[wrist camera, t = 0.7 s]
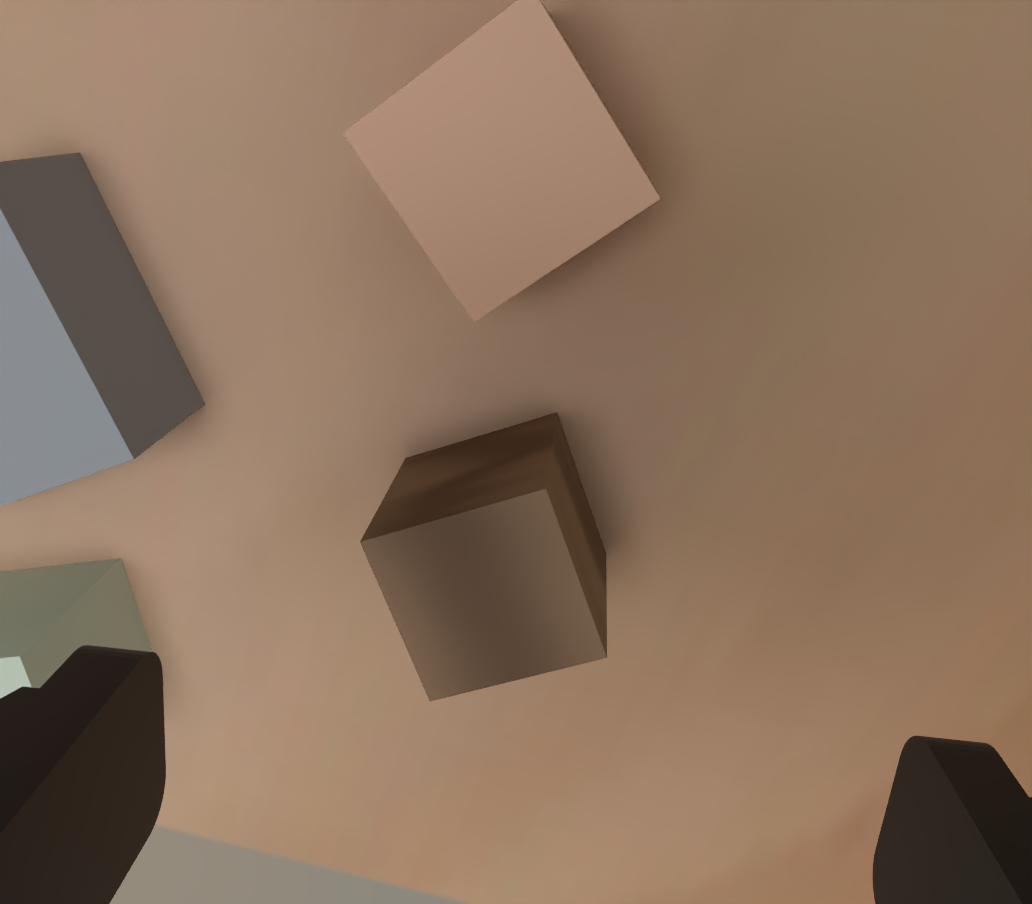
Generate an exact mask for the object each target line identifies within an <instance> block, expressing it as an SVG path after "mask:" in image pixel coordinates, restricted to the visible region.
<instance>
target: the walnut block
mask: <svg viewBox="0 0 1032 904" xmlns="http://www.w3.org/2000/svg"><path fill="white" fill-rule="evenodd" d="M360 543H361V545H362V547H363V550H364V552H365V554H366V556H367V559H368V561H369V563H370V566H371V568H372V570H373V572H374V575H375V577H376V579H377V582H378V584H379V586H380V588H381V591H382V593H383V595H384V598H385V600H386V602H387V604H388V607H389V609H390V611H391V614H392V616H393V618H394V620H395V623H396V625H397V627H398V630H399V632H400V634H401V636H402V639H403V641H404V643H405V646H406V648H407V650H408V652H409V655H410V657H411V659H412V662H413V664H414V666H415V668H416V671H417V673H418V675H419V678H420V680H421V682H422V684H423V687H424V689H425V691H426V694H427V696H428V698H429V700H430V701H434V700H438V699H442V698H446V697H450V696H454V695H458V694H462V693H466V692H470V691H474V690H478V689H482V688H486V687H490V686H494V685H498V684H502V683H506V682H510V681H514V680H518V679H522V678H526V677H530V676H535V675H539V674H543V673H547V672H551V671H555V670H559V669H563V668H567V667H571V666H575V665H579V664H583V663H587V662H591V661H595V660H599V659H603V658H607V604H606V553H605V550H604V547H603V544H602V541H601V538H600V535H599V532H598V529H597V527H596V524H595V521H594V518H593V515H592V512H591V509H590V506H589V504H588V501H587V498H586V495H585V492H584V489H583V486H582V483H581V480H580V478H579V475H578V472H577V469H576V466H575V463H574V460H573V457H572V455H571V452H570V449H569V446H568V443H567V440H566V437H565V434H564V431H563V429H562V426H561V423H560V420H559V417H558V414H557V413H554V414H551V415H547V416H544V417H541V418H537V419H534V420H531V421H527V422H524V423H521V424H517V425H514V426H511V427H508V428H504V429H501V430H498V431H494V432H491V433H488V434H484V435H481V436H478V437H474V438H471V439H468V440H465V441H461V442H458V443H455V444H451V445H448V446H445V447H441V448H438V449H435V450H431V451H428V452H425V453H421V454H418V455H415V456H412V457H408V458H405V460H404V462H403V464H402V466H401V468H400V469H399V471H398V473H397V475H396V477H395V479H394V480H393V482H392V484H391V486H390V488H389V490H388V492H387V493H386V495H385V497H384V499H383V501H382V503H381V504H380V506H379V508H378V510H377V512H376V514H375V516H374V517H373V519H372V521H371V523H370V525H369V527H368V528H367V530H366V532H365V534H364V536H363V538H362V539H361V541H360Z"/></svg>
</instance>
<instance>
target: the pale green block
mask: <svg viewBox="0 0 1032 904" xmlns="http://www.w3.org/2000/svg"><path fill="white" fill-rule="evenodd" d="M83 645H92V646H101V647H110V648H120V649H129V650H139V651H148V652H153V651H152V648H151V645H150V642H149V639H148V636H147V633H146V630H145V627H144V624H143V622H142V619H141V616H140V613H139V610H138V607H137V604H136V601H135V598H134V595H133V592H132V589H131V586H130V583H129V580H128V577H127V574H126V571H125V568H124V565H123V562H122V559H121V558H120V559H111V560H102V561H93V562H84V563H75V564H67V565H58V566H49V567H40V568H31V569H22V570H13V571H4V572H0V698H2V697H4V696H6V695H8V694H10V693H11V692H13V691H15V690H17V689H19V688H21V687H22V686H23V687H32V688H40V687H41V686H42V685H43V684H44V683H45V682H46V681H47V680H48V679H49V678H50V677H51V676H52V675H53V673H54V672H55V671H56V670H57V669H58V668H59V667H60V666H61V665H62V664H63V663H64V662H65V661H66V660H67V659H68V658H69V657H70V655H71V654H72V653H73V652H74V651H75V650H77V649H78V648H79V647H81V646H83Z"/></svg>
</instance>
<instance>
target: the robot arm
mask: <svg viewBox="0 0 1032 904" xmlns="http://www.w3.org/2000/svg"><path fill="white" fill-rule="evenodd" d="M165 778H166V763H165V733H164V703H163V674H162V666H161V661H160V659H159V657H158V655H157V654H156V653H154V652H148V651H139V650H129V649H120V648H110V647H101V646H92V645H83V646H81V647H79V648H78V649H77V650H75V651H74V652H73V653H72V654H71V655H70V657H69V658H68V659H67V660H66V661H65V662H64V663H63V664H62V665H61V666H60V667H59V668H58V669H57V670H56V671H55V672H54V673H53V675H52V676H51V677H50V678H49V679H48V680H47V681H46V682H45V683H44V684H43V685H42V686H41V687H40V688H32V687H23V686H22V687H21V688H19V689H17V690H15V691H13V692H11V693H10V694H8V695H6V696H4V697H2V698H0V904H109V903H110V901H111V900H112V898H113V897H114V895H115V893H116V891H117V890H118V888H119V886H120V885H121V883H122V881H123V880H124V878H125V876H126V875H127V873H128V871H129V869H130V868H131V866H132V864H133V863H134V861H135V859H136V858H137V856H138V854H139V853H140V851H141V849H142V847H143V846H144V844H145V842H146V841H147V839H148V837H149V835H150V834H151V832H152V830H153V827H154V825H155V822H156V820H157V817H158V814H159V811H160V807H161V803H162V799H163V794H164V788H165ZM873 890H874V898H875V903H876V904H1032V798H1031V797H1028V795H1027V794H1026V792H1025V791H1024V789H1023V788H1022V787H1021V785H1020V784H1019V782H1018V781H1017V779H1016V778H1015V777H1014V775H1013V774H1012V772H1011V771H1010V769H1009V768H1008V767H1007V765H1006V764H1005V762H1004V761H1003V759H1002V758H1001V757H1000V755H999V754H998V752H997V751H996V750H995V749H994V748H993V747H992V746H991V745H989V744H987V743H980V742H971V741H961V740H952V739H943V738H933V737H924V736H913V737H911V738H910V739H908V741H907V742H906V743H905V745H904V747H903V749H902V752H901V756H900V759H899V763H898V767H897V770H896V774H895V778H894V782H893V786H892V789H891V793H890V797H889V801H888V805H887V808H886V812H885V816H884V820H883V823H882V827H881V831H880V835H879V839H878V842H877V846H876V850H875V855H874V862H873Z"/></svg>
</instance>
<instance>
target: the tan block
mask: <svg viewBox="0 0 1032 904" xmlns="http://www.w3.org/2000/svg"><path fill="white" fill-rule="evenodd" d="M342 134H343V135H344V136H345V138H346V139H347V141H348V142H349V144H350V145H351V146H352V148H353V149H354V151H355V152H356V154H357V155H358V157H359V158H360V159H361V161H362V162H363V164H364V165H365V167H366V168H367V170H368V171H369V172H370V174H371V175H372V177H373V178H374V180H375V181H376V183H377V184H378V185H379V187H380V188H381V190H382V191H383V193H384V194H385V196H386V197H387V198H388V200H389V201H390V203H391V204H392V206H393V207H394V209H395V210H396V211H397V213H398V214H399V216H400V217H401V219H402V220H403V222H404V223H405V224H406V226H407V227H408V229H409V230H410V232H411V233H412V235H413V236H414V237H415V239H416V240H417V242H418V243H419V245H420V246H421V248H422V249H423V250H424V252H425V253H426V255H427V256H428V258H429V259H430V261H431V262H432V263H433V265H434V266H435V268H436V269H437V271H438V272H439V274H440V275H441V276H442V278H443V279H444V281H445V282H446V284H447V285H448V286H449V288H450V289H451V291H452V292H453V294H454V295H455V297H456V298H457V299H458V301H459V302H460V304H461V305H462V307H463V308H464V310H465V311H466V312H467V314H468V315H469V317H470V318H471V320H472V321H473V323H474V322H475V321H477V320H478V319H480V318H481V317H483V316H484V315H486V314H487V313H489V312H490V311H492V310H493V309H495V308H496V307H498V306H499V305H501V304H502V303H504V302H505V301H507V300H508V299H510V298H511V297H513V296H514V295H516V294H517V293H519V292H520V291H522V290H524V289H525V288H527V287H528V286H530V285H531V284H533V283H534V282H536V281H537V280H539V279H540V278H542V277H543V276H545V275H546V274H548V273H549V272H551V271H552V270H554V269H555V268H557V267H558V266H560V265H561V264H563V263H564V262H566V261H567V260H569V259H570V258H572V257H573V256H575V255H576V254H578V253H579V252H581V251H583V250H584V249H586V248H587V247H589V246H590V245H592V244H593V243H595V242H596V241H598V240H599V239H601V238H602V237H604V236H605V235H607V234H608V233H610V232H611V231H613V230H614V229H616V228H617V227H619V226H620V225H622V224H623V223H625V222H626V221H628V220H629V219H631V218H632V217H634V216H635V215H637V214H638V213H640V212H641V211H643V210H645V209H646V208H648V207H649V206H651V205H652V204H654V203H655V202H657V201H658V200H660V199H661V198H660V197H659V195H658V193H657V191H656V189H655V187H654V185H653V184H652V182H651V180H650V178H649V176H648V175H647V173H646V171H645V170H644V168H643V166H642V165H641V163H640V161H639V160H638V158H637V157H636V155H635V153H634V152H633V150H632V148H631V147H630V145H629V143H628V142H627V140H626V138H625V137H624V135H623V134H622V132H621V130H620V129H619V127H618V125H617V124H616V122H615V120H614V119H613V117H612V116H611V114H610V112H609V111H608V109H607V107H606V106H605V104H604V102H603V101H602V99H601V97H600V96H599V94H598V93H597V91H596V89H595V88H594V86H593V84H592V83H591V81H590V79H589V78H588V76H587V74H586V73H585V71H584V70H583V68H582V66H581V65H580V63H579V61H578V60H577V58H576V56H575V55H574V53H573V52H572V50H571V48H570V47H569V45H568V43H567V42H566V40H565V38H564V37H563V35H562V33H561V32H560V30H559V29H558V27H557V25H556V24H555V22H554V20H553V19H552V17H551V15H550V14H549V12H548V11H547V9H546V8H545V6H544V5H543V3H542V2H541V0H517V1H516V2H514V3H513V4H512V5H510V6H509V7H508V8H506V9H505V10H504V11H503V12H501V13H500V14H499V15H497V16H496V17H495V18H493V19H492V20H491V21H489V22H488V23H487V24H485V25H484V26H483V27H482V28H480V29H479V30H478V31H476V32H475V33H474V34H472V35H471V36H470V37H468V38H467V39H466V40H464V41H463V42H462V43H460V44H459V45H458V46H457V47H455V48H454V49H453V50H451V51H450V52H449V53H447V54H446V55H445V56H443V57H442V58H441V59H439V60H438V61H437V62H436V63H434V64H433V65H432V66H430V67H429V68H428V69H426V70H425V71H424V72H422V73H421V74H420V75H418V76H417V77H416V78H414V79H413V80H412V81H411V82H409V83H408V84H407V85H405V86H404V87H403V88H401V89H400V90H399V91H397V92H396V93H395V94H393V95H392V96H391V97H390V98H388V99H387V100H386V101H384V102H383V103H382V104H380V105H379V106H378V107H376V108H375V109H374V110H372V111H371V112H370V113H368V114H367V115H366V116H365V117H363V118H362V119H361V120H359V121H358V122H357V123H355V124H354V125H353V126H351V127H350V128H349V129H347V130H346V131H345V132H344V133H342Z"/></svg>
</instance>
